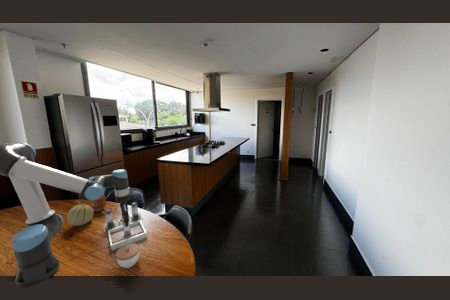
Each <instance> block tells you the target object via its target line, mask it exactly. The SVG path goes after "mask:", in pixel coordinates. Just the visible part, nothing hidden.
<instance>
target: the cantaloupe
mask: <svg viewBox="0 0 450 300" xmlns="http://www.w3.org/2000/svg"><path fill="white" fill-rule="evenodd" d="M93 210H94V209H93V208H92V207H91V206H90V205H88V204H85V203H82V204H77V205H75V206H72V208H70V210H69V211H68V213H67V216H66V220H67V223H68V224H69V225H70V226H71V225H72V226H74V227H80V226H84V225H87V224H88V223H89V222H91V220H92V219H93V217H94V211H93Z"/></svg>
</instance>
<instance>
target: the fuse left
mask: <svg viewBox="0 0 450 300" xmlns="http://www.w3.org/2000/svg"><path fill="white" fill-rule="evenodd" d="M104 215H105V216H104V217H105V223H106V224H107V228H108V227H110V226H114V223H113V222H114V219H113V217H114V216H113V210H112V208H107V209H105V210H104Z"/></svg>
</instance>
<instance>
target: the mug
mask: <svg viewBox="0 0 450 300" xmlns="http://www.w3.org/2000/svg"><path fill="white" fill-rule="evenodd" d="M92 203H93V206H92V207H91V208H92V209H93V210H94V211H95V212H99V211H102V210H104V209H105V207H106V205H107V200H106V196H105V193H104V194H103V195H102V196H101V198H99V199H97V200H92Z"/></svg>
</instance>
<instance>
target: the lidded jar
mask: <svg viewBox="0 0 450 300" xmlns="http://www.w3.org/2000/svg"><path fill="white" fill-rule="evenodd" d="M115 256H116V257H115V258H116V262H117V264H118V265H119V266H120V267H121V268H123V269H131V268H132V267H134V266H135V264H136V263H137V262H138V260H139V258H140V246H139V245H138V244H136V243H131V244H128V245H125V246H123V247H121V248H118V249H117V251H116V254H115Z"/></svg>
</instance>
